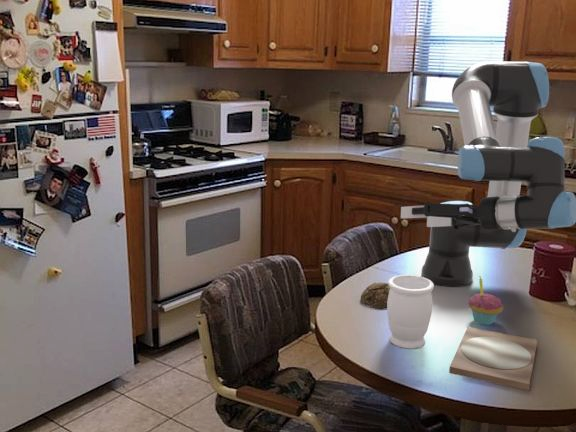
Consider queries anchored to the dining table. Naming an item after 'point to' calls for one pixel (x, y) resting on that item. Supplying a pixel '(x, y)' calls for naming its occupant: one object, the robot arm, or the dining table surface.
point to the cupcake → (485, 307)
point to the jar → (409, 310)
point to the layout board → (495, 358)
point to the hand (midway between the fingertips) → (414, 217)
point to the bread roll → (376, 295)
